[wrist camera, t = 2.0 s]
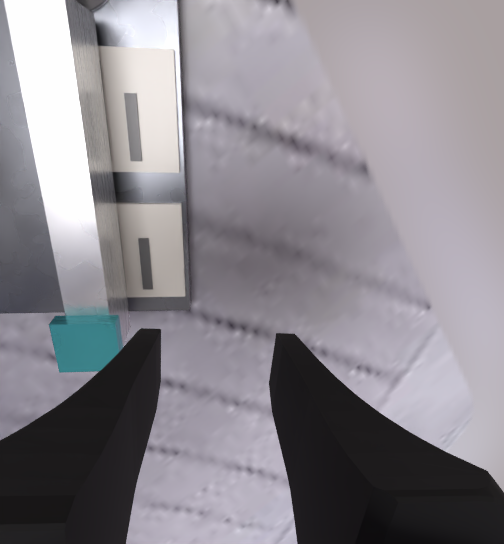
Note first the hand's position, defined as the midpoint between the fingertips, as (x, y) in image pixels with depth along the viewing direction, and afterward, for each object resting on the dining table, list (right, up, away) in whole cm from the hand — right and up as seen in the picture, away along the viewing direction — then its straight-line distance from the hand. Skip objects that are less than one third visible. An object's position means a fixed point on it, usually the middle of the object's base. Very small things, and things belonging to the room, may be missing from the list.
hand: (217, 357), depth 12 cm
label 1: (-5, +10, +5) cm, 12 cm away
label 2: (-5, +4, +8) cm, 10 cm away
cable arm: (-6, +6, +5) cm, 10 cm away
